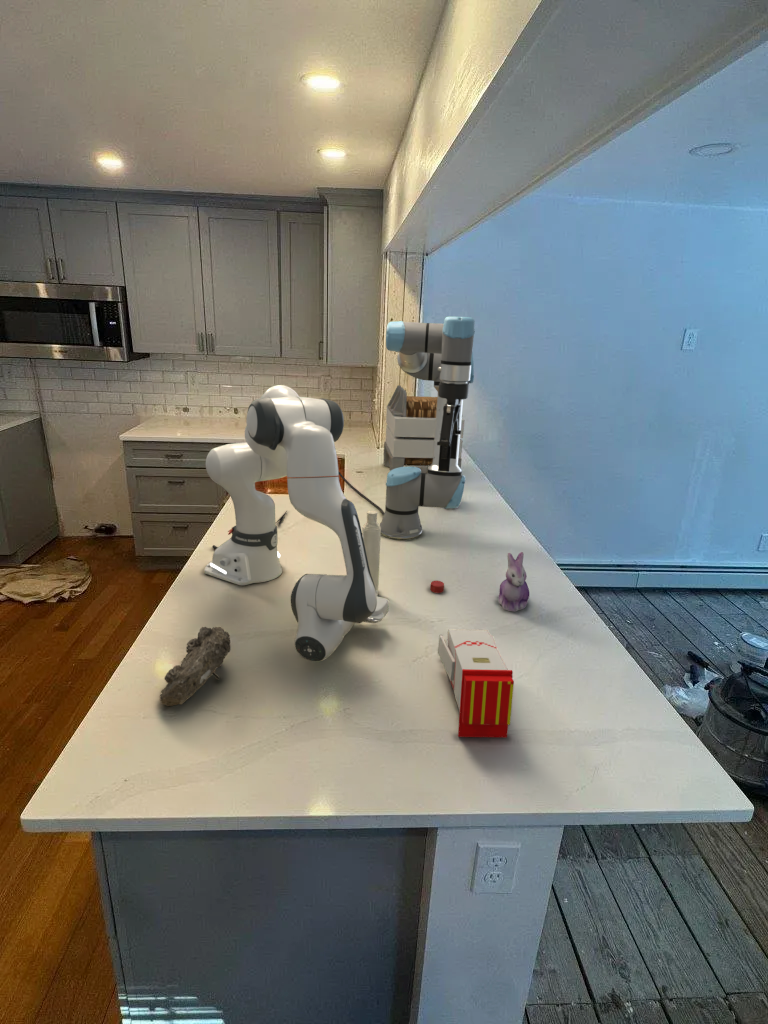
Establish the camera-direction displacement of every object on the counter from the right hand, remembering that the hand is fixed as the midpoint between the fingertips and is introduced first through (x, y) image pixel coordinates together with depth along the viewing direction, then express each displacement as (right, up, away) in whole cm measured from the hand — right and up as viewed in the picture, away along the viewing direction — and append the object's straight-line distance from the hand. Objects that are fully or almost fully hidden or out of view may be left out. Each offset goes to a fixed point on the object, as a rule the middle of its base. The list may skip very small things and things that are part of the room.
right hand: (447, 464), depth 149 cm
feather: (-54, -13, +65) cm, 85 cm away
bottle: (-21, -35, +9) cm, 42 cm away
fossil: (-55, -47, -29) cm, 78 cm away
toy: (+1, -50, -30) cm, 58 cm away
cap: (-1, -33, +12) cm, 35 cm away
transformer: (+1, +6, +126) cm, 127 cm away
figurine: (+19, -38, +6) cm, 43 cm away
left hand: (-23, -32, -3) cm, 40 cm away
